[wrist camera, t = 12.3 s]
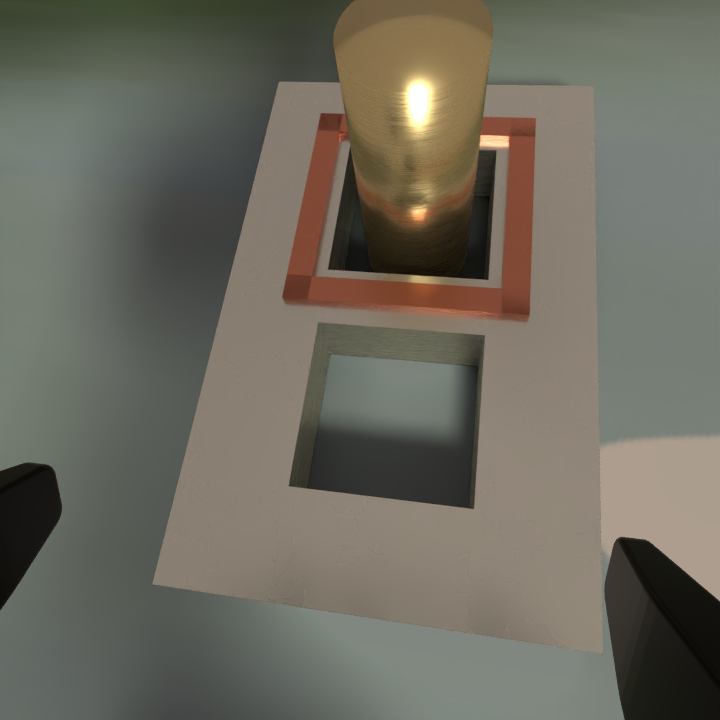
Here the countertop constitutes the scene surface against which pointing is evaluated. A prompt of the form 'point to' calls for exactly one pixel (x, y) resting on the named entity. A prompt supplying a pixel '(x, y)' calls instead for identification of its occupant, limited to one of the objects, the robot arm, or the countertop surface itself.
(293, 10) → the countertop surface
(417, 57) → the brass peg
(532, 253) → the socket plate
